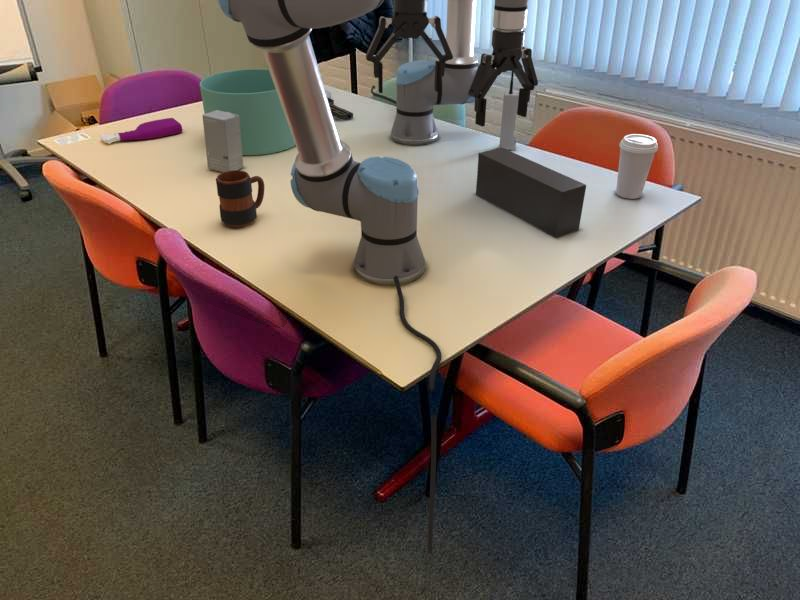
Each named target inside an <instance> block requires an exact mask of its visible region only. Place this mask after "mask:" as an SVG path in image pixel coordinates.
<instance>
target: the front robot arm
mask: <svg viewBox="0 0 800 600" xmlns="http://www.w3.org/2000/svg"><path fill="white" fill-rule="evenodd" d="M384 1H385V0H217V3H218V5H219V7H220V9H221V11H222V12H223V14H224V15H225V16H226V17H227V18H229V19H231V20H232V21H233V22H237V23H241V24H242V26H243V30H244V32H245V34H246V37H247V40H248V42H249V44H251V45H252V46H253V47H256V48H257V49H260V50H261V53H262V55H263V58H264V61H265V63H266V67H267V69H269V72H270V75H271V77H272V80H273V83H274V86H275V89H276V91H277V94H278V97H279V100H280V103H281V105H282V108H283V111H284V114H285V116H286V119H287V122H288V125H289V128H290V130H291V133H292V136H293V139H294V141H295V144H296V145H295V146H296V147H295V148H296V150H297V152H298V153H297V154H296V156H295V159H294V162H293V165H292V167H291V170H290V175H291V177H292V178H291V179H290V187H291V188H290V189H291V191H292V194H293V196H294V198H295V199H296V200H297V201H298V203H299V204H300V205H302V206H303V207H305V208H308V209H311V210H313V211H315V212H320V213H325V214H330V215H334V216H337V217H343V218H347V219H351V220H354V221H358V222H360V239H359V242H358V247H357V249H356V252H355V256H354V259H353V270H354V273H355V275H356V276H357V277H358V278H359V279H360V280H362V281H364V282H366V283H369V284H370V285H371V284H372V285H376V286H382V287H395V289H396V293H397V297H398V302H399V311H398V312H399V318H400V321H401V323H402V325H403V326H404V327H405V329H406V330H407V331H408V332H409V333H411V334H412V335H413V336H415V337H417V338H418V339H420V340H422V341H423V342H425V343H427V344H428V345H429V346H430V347H431V348H432V349H433V350H434V352H435V356H436V357H435V360H434V362H433V364H432V366H431V369H430V372H429V376H428V377H429V379H428V389H429V390H430V391H433V390H435V380H436V379H435V378H436V374H437V370H438V368H439V366H440V364H441V362H442V357H443V356H442V355H443V354H442V350H441V348H440V346H439V345H438V344H437V343H436V342H435V341H434V340H433V339H432V338H430V337H428V336H427V335H425V334H423V333H422V332H420V331H418V330H417V329H415V328H414V327H413V326H411V324H409V322H408V320H407V319H406V315H405V299H404V294H403V291H402V285H406V284H410V283H413V282H415V281H417V280H418V279H420V278H421V276H423V274H424V273H425V270H426V259H425V255H424V252H423V250H422V247H421V244H420V241H419V238H418V202H419V201H418V198H419V197H418V196H419V187H418V185H419V184H418V175H417V173H416V171H415V169H414V168H413V167H412V166H411V165H410V164H409V163H407V162H405V161H403V160H401V159H398V158H395V157H390V156H383V157H380V156H372V157H371V156H370V157H367V158H364V159H363V160H362V161H361V162H359V161H355V160H354V158H353V153H352V151H351V148H350V146H349V144H347V142H345V141H344V140H341V139H340V136H339V132H338V130H337V127H336V123H335V120H334V115H332V112H331V109H330V105H329V102H328V98H327V95H326V92H325V90H326V88H325V84H324V82H323V78H322V75H321V71H320V68H319V64H318V62H317V58H316V57H317V56H316V54H315V50H314V47H313V45H312V44H313V43H312V41H311V37H310V34H311V32H312V30H314V29H322V28H328V27H332V26H337V25H339V24H343V23H346V22H349V21H351V20H354V19H356V18H359V17H362V16H364V15H366V14H368V13H370V12H373V11H375V10H376V9H378V8H379V7H381V5H382V4H383V2H384ZM441 21H442V19H441V18H440V16H438V15H435V16H433V17H428V0H393V14H392V17H385V16H383V15H381V16H380V17H379V20H378V27H377V30H376V31H375V34H374V36H373V39H372V41H371V43H370V45H369V47H368V49H367V52H366V54H365V59H366V61H368V62H371V63H373V76H374V78H375V79H377V83H378V85H377V86H378V88H377V89H378V94H383V93H384V92H383V91H384V90H383V89H384V87H383V86H384V85H383V82H384V80H383V79H384V78H383V77H384V76H383V74H384V72H383V71H384V70H383V67H384V66H383V62H382V60H383V59H384V57H385V56H386V54H388V52H389V51H390V50H391V48H392V47H393V46H394V45H395V43H396V42H397V41H398V40H399V39H400V38H401V39H404V40H405V39H406V40H407V39H413V40H414V39H419V38H420V37H421V38H422V40H423V41H424V42H425V43H426V45H427V46H428V48H429V49H430V50H431V51H432V52H433V54H434V55H435V56H436V58H437V59H438V60H435V63H434V65H435V85H434V89H435V91H436V92H439V88H440V77H443V76H444V71H445V62H446V61H448V60H452V59H453V55H452V53H451V50H450V48H449V45H448V43H447V41H446V35H445V34H444V31H443V29H442V22H441ZM429 24H430V26H431V27H432V28H434V31H435V33H436V35H437V37H438V40H439V42H440V45H441V48H442V49H443V52H444V54H442V53H441V51H440V50H439V48H438V47H437V46H436V45H435V43H434V42H433V41H432V39H431V38H430V37H429V35H428V34H427V33H426V31H425V30H426V29H427V27H428V26H429ZM390 25H392V27H393V28H394V30H393V31H392V33H391V34H390V36H389V37H388V39H386V41H385V42H384V44H383V45H382V46H381V48H380V49H379V50H378V51H377V53H376V50H377V48H378V46H379V44H380V42H381V39H382V38H383V35H384V33H385V31H386V29H388V28H389V26H390ZM375 53H376V54H375ZM430 423H431V424H430V426H431V427H430V440H431V441H430V477H429V478H430V479H429V480H430V481H429V503H428V505H429V506H428V526H427V527H428V528H427V554H428V555H432V554H433V541H434V540H433V538H434V517H435V516H434V515H435V500H436V499H435V497H436V496H435V495H436V477H437V475H436V474H437V414H435V413H431V414H430Z"/></svg>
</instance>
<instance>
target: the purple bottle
mask: <svg viewBox="0 0 800 600" xmlns="http://www.w3.org/2000/svg"><path fill="white" fill-rule="evenodd" d="M182 132H183V126H182V123H180V122H179V121H178V120H177V119H175V118H173V117H167V118H160V119H155V120H149V121H146V122H143V123H140V124H139V125H138V126H136V128H135V129H134V130H128V131H124V132H118V133H117V132H115V133H112V134H101V133H100V134H99V137H100V140H102V141H103V143H105V144H110V145H111V144H112V143H114V142H121V141H134V140H140V141H141V140H142V141H145V140H152V139H153V140H154V139H158V138H163V137H168V136H174V135H177V134H180V133H182Z"/></svg>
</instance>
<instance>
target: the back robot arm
mask: <svg viewBox="0 0 800 600" xmlns="http://www.w3.org/2000/svg"><path fill="white" fill-rule="evenodd" d="M446 4H447V5H446V31H445V33H446V35H445V38H446V41H447V43H448V45H449V48H450V50H451V53H452V55H453V59H452V60H448V61H446V62H445V71H444V76H443V77H440V88H439V92H436V91H435V89H434V85H435V63H434V61H432V60H429V59H428V60H427V59H426V60H424V59H419V60H412V61H409V62H406V63H403V64H401V65H400V66H399V67H398V68H397V70H396V78H395V79H396V80H395V86H396V100H395V99H393V98H391V97H389V96H388V97H387V96H386V95H383V94H381V93H378V92H377V93H376V92H375V91H374V89H376V85H374V84H373V85H372V86H371V88H370V92H371V94H372V95H373V96H376V97H379V98H382V99H385V100H387V101H390V102H392V103H394V104H396V115H395V117H394V121H393V124H392V127H391V130H390V138H391V140H392V141H394V142H395V143H397V144H399V145H400V144H401V145H405V146H406V145H407V146H423V145H428V144H432V143H434V142H436V141H437V140H438V138H439V131H438V127H437V123H436V120H435V116H434V106H444V105H446V106H447V105H466V104H473V103H474V105H473V106H474V108H473V110H474V112H475V125H477V126H480V127H485V126H486V115H487V114H486V113H487V100H488V99H487V98H485V97H486V95H487V94H488V92H489V91H490V90H491V88H492V86H493V85H494V83H495V81H496V80H497V78H498V77H499V76H500V75H502V73H507V72H508V71H509V72H512V71H513V72H514V76H515V77H516V78H517V80H518V82H519V84H520V85H521V88H520V87H519V89H518V92H519V99H518V109H517V114H516V116H519V117H523V118H526V117H527V114H528V105H529V102H530V99H531V91H534V90H535V88H536V87H537V86H538V85H539V81H538V77H537V73H536V70H535V65H534V61H533V57H532V56H533V55H532V54H533V50H532V48H529V47H526V46H525V37H526V31H525V30H524V29H526V27H527V17H528V6H529V5H528V4H529V0H494V5H493V17H492V18H493V19H492V27H493V30H492V33H491V47H492V53H491V54H487V53H482V54H481V56H480V61H479V58H478V57H477V56H476V55H475V53H474V52H475V35H476V17H477V15H476V14H477V0H447V3H446ZM520 60H521V61H520Z"/></svg>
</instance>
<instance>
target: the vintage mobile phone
mask: <svg viewBox="0 0 800 600" xmlns="http://www.w3.org/2000/svg"><path fill="white" fill-rule="evenodd" d="M510 75H511V76H510V81H509V82H510V83H509V91H504V94H503V100H502V110H501V111H502V113H501V123H500V134H499V135H500V136H499V145H498V148H500V147H502V148H504V149H506V150H509V151H515V150H516V148H517V140H516V138H515V128H516V120H517V119H516V118H517V109H518V99H519V91H513V90H514V76H515V73H514V72H513V71H511V74H510Z"/></svg>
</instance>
